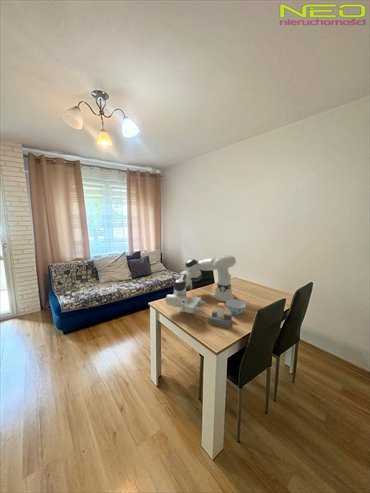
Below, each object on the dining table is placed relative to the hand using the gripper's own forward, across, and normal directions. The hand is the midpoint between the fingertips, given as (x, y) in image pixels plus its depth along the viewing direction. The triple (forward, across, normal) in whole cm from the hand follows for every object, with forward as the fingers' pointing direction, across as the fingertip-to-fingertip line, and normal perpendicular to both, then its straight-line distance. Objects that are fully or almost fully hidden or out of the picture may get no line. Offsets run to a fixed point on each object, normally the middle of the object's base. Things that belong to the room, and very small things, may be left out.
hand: (203, 306), depth 144 cm
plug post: (+12, 0, -8) cm, 15 cm away
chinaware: (+20, -18, -10) cm, 29 cm away
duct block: (+12, 0, -10) cm, 16 cm away
